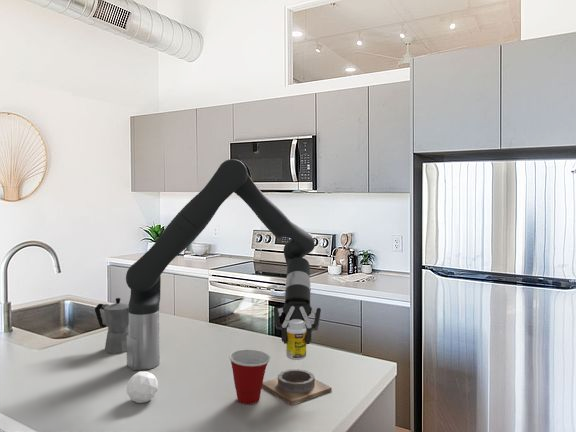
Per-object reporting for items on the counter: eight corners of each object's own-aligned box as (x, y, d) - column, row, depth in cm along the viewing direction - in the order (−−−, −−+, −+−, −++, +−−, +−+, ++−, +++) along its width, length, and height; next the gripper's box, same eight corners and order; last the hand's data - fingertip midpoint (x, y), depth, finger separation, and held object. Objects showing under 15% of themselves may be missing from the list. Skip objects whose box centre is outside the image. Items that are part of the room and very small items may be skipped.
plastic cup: (264, 411, 113) (264, 364, 112) (223, 407, 115) (223, 360, 114) (274, 392, 123) (274, 349, 123) (236, 389, 125) (236, 346, 125)
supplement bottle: (293, 362, 122) (293, 325, 121) (282, 356, 126) (282, 320, 126) (310, 358, 125) (310, 321, 124) (299, 352, 129) (299, 317, 129)
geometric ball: (150, 411, 118) (161, 393, 114) (119, 405, 115) (129, 386, 111) (153, 387, 124) (164, 368, 121) (125, 380, 121) (134, 361, 118)
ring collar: (291, 405, 116) (291, 391, 116) (261, 386, 127) (261, 374, 127) (331, 391, 125) (331, 378, 124) (300, 374, 136) (300, 363, 136)
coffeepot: (142, 346, 160) (142, 295, 159) (128, 355, 150) (128, 302, 150) (103, 343, 163) (102, 293, 162) (87, 352, 153) (86, 299, 152)
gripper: (273, 282, 132) (269, 335, 121) (322, 283, 132) (322, 337, 120) (274, 296, 138) (271, 348, 127) (321, 297, 137) (322, 349, 126)
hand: (296, 342), depth 124 cm, fingers closed on supplement bottle, 5 cm apart
